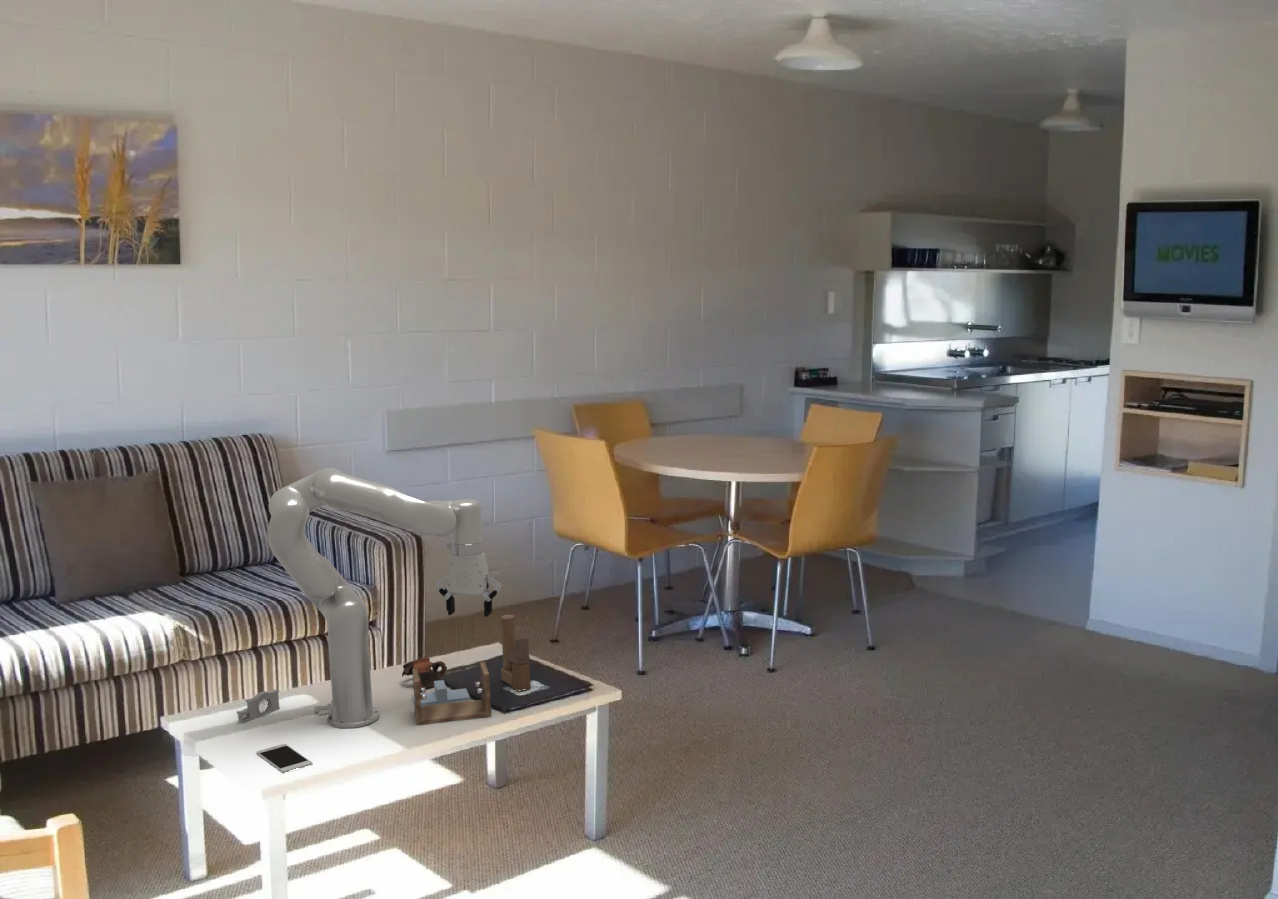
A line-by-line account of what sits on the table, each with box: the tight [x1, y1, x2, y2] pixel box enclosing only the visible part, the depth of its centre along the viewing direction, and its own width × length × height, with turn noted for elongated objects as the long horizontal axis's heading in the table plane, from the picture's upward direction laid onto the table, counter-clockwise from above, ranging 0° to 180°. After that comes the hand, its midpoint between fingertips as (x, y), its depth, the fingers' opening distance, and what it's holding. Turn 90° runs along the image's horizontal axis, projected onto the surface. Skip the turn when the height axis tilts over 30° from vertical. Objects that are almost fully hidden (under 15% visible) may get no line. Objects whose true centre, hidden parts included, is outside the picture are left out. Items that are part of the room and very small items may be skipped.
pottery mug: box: [401, 657, 448, 689], centre depth 325 cm, size 12×10×8 cm
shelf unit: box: [412, 660, 492, 726], centre depth 302 cm, size 18×10×11 cm, turn 103°
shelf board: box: [411, 679, 471, 706], centre depth 314 cm, size 14×7×4 cm, turn 106°
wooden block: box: [500, 614, 531, 691], centre depth 321 cm, size 4×11×18 cm, turn 31°
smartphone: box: [255, 743, 313, 774], centre depth 278 cm, size 7×16×1 cm, turn 39°
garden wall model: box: [236, 688, 280, 724], centre depth 305 cm, size 12×2×6 cm, turn 144°
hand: (469, 614), depth 309 cm, fingers open, 9 cm apart
